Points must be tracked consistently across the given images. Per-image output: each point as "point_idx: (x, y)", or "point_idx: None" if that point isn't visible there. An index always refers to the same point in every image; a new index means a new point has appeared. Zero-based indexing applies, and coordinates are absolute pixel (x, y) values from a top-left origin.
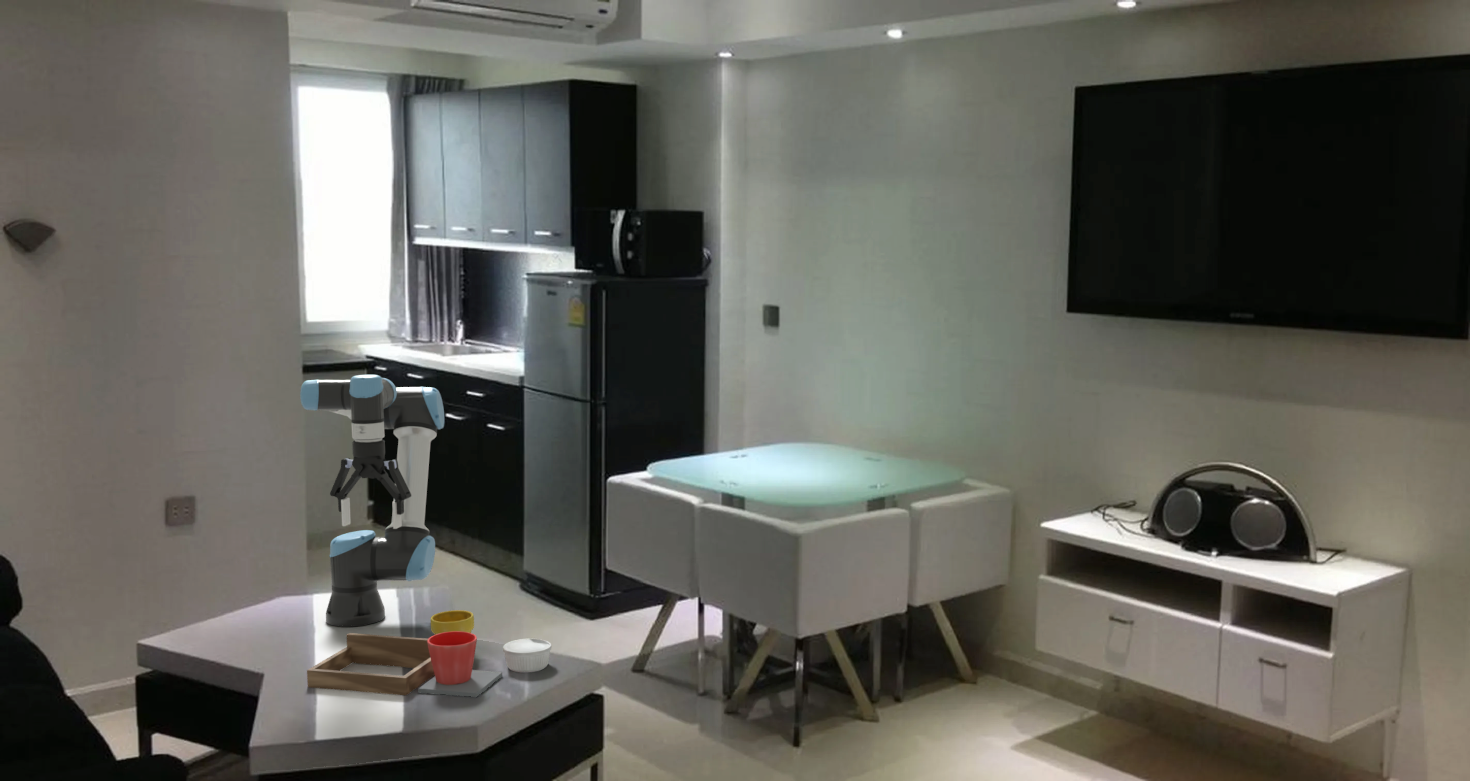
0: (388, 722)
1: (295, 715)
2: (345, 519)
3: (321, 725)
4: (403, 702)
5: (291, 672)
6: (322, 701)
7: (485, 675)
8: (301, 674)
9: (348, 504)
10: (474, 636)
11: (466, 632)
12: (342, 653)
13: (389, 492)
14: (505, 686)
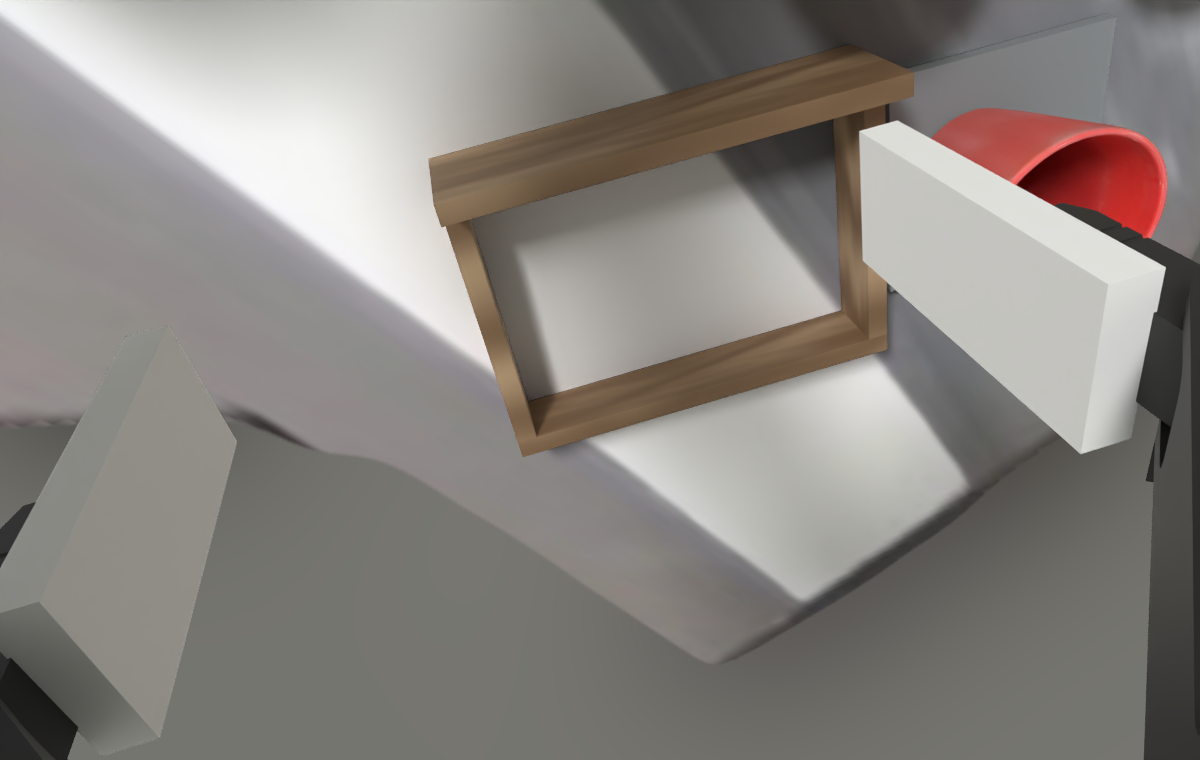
0: (911, 470)
1: (655, 554)
2: (212, 476)
3: (762, 556)
4: (879, 362)
5: (332, 359)
6: (650, 467)
7: (1064, 79)
8: (386, 355)
9: (109, 543)
10: (1150, 155)
11: (1106, 134)
12: (482, 266)
13: (1155, 578)
14: (1140, 101)
